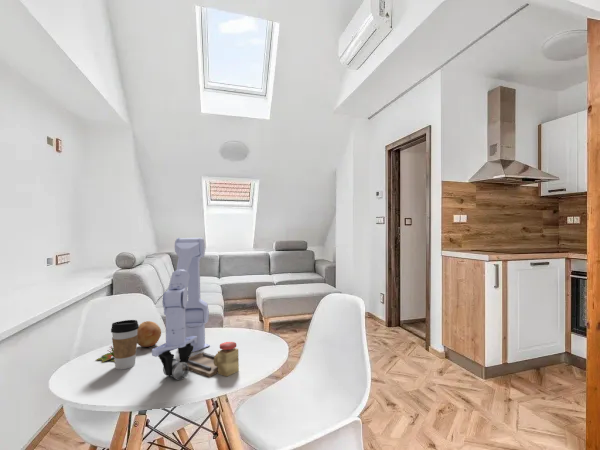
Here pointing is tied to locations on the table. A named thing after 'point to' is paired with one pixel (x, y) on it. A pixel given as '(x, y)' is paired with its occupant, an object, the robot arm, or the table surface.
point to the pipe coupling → (179, 369)
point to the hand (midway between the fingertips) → (176, 372)
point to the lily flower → (107, 356)
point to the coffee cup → (124, 343)
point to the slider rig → (216, 361)
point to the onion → (148, 334)
